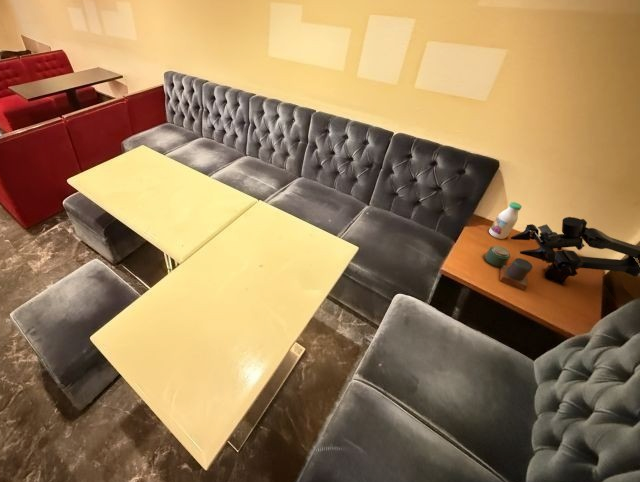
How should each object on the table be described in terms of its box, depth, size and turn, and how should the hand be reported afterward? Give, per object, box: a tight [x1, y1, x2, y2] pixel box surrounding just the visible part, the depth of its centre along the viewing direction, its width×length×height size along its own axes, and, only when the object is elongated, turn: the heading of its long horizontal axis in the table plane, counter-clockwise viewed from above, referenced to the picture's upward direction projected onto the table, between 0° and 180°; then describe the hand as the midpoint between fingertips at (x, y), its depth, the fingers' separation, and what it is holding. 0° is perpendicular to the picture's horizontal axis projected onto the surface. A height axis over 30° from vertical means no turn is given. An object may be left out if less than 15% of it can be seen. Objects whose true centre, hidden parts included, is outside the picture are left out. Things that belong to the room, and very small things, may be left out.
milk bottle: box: [488, 201, 522, 240], centre depth 160 cm, size 8×8×20 cm
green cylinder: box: [483, 245, 511, 269], centre depth 148 cm, size 8×8×8 cm
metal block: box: [499, 264, 528, 291], centre depth 140 cm, size 8×8×3 cm
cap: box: [507, 257, 534, 280], centre depth 137 cm, size 6×6×8 cm
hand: (515, 245), depth 138 cm, fingers open, 9 cm apart
